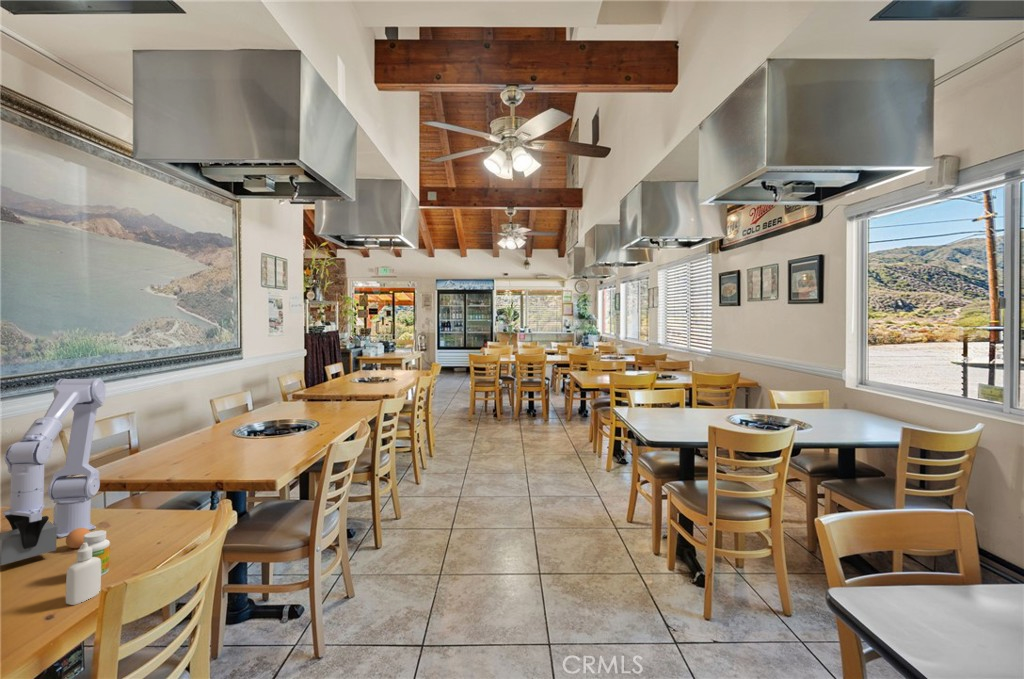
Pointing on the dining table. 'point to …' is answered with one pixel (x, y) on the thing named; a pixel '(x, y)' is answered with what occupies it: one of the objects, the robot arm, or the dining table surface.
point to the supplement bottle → (99, 548)
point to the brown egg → (76, 537)
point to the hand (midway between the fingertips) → (25, 543)
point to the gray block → (11, 549)
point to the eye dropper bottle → (83, 577)
